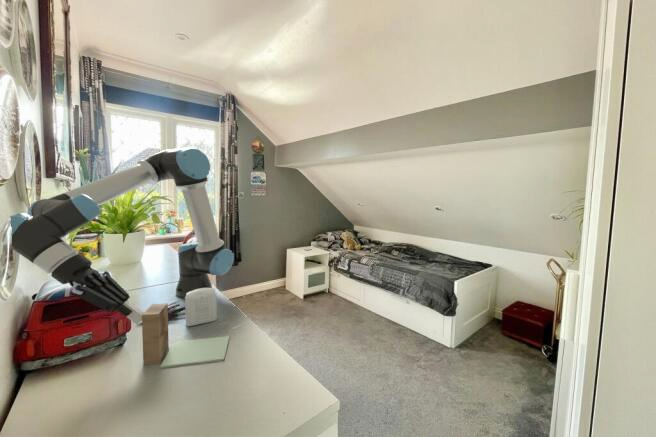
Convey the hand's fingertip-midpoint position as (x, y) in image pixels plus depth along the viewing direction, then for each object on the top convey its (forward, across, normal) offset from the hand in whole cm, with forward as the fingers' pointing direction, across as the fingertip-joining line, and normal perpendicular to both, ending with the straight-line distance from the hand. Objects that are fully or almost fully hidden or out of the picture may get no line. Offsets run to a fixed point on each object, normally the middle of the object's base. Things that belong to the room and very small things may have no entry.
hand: (141, 319), depth 75 cm
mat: (+18, 0, +2) cm, 18 cm away
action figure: (+7, -25, -10) cm, 28 cm away
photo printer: (+16, -20, -1) cm, 25 cm away
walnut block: (+10, 0, -6) cm, 12 cm away
